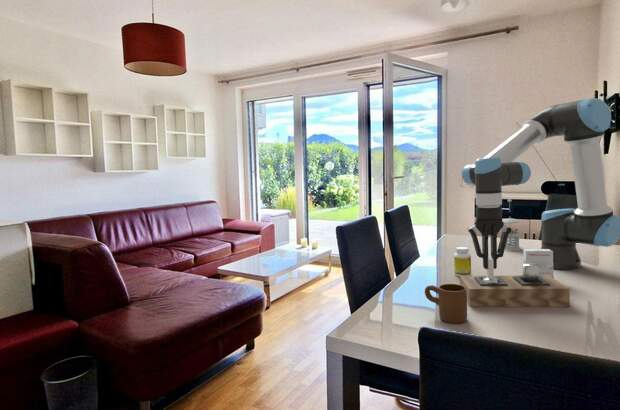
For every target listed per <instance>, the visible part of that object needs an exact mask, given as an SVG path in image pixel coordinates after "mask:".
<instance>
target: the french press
mask: <svg viewBox="0 0 620 410" xmlns="http://www.w3.org/2000/svg"><path fill="white" fill-rule="evenodd" d="M512 201H513V200H512V199H511V198H508V199H507V202H508V204H509V206H508V207H509V211H511V202H512ZM502 221H503V222H504V224H509V225H511V224H518V223H520V221H519V220H518V219H515V218H512V217H509V218H505V219H502ZM511 229H512V230H511V232H510V233H509V235H508V238H507V242H506V246H505V250H504V251H507V252H509V251H511V252H512V251H513V252H515V251H521V250H522V247H520V232H519V229H518V228H512V227H511ZM502 232H503V231H501V233H500V234H502ZM500 238H501V236H499V234H497V239H500Z"/></svg>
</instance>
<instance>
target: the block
mask: <svg viewBox="0 0 620 410" xmlns="http://www.w3.org/2000/svg"><path fill="white" fill-rule="evenodd" d="M484 277H486V275H471V276H460V277H459V285H462V286H464V287H465V288H466V294H467V302H468V303H467V305H468V304H469V305H470V306H496V307H497V306H498V307H499V306H500V307H501V308H502V307H503V308H506V307H507V308H509V307H513V308H517V307H518V308H520V307H521V308H530V307H531V308H536V307H537V308H570V300H571V299H570V296H571V295H570V288H569V287H567V286H566V285H565V284H563V283H561V282H560V281H559V280H557V279H555V277H554V278H552V277H551V276H549V275H539V282H524V281H523V274H521V275H494V278H497V279H498V283H484V282H483V278H484ZM469 305H468V306H469ZM470 306H469V307H470ZM498 307H497V308H498ZM500 307H499V308H500Z"/></svg>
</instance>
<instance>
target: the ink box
mask: <svg viewBox="0 0 620 410" xmlns="http://www.w3.org/2000/svg"><path fill="white" fill-rule="evenodd" d="M522 251H523V253H522V254H523V255H522V256H523V263H535V264H538V265H539V275H549V276H551V277H552V278H554V279H555V277H554V269H553V251H551V250H550V249H541V248H523V250H522Z"/></svg>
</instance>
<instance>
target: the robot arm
mask: <svg viewBox="0 0 620 410" xmlns="http://www.w3.org/2000/svg"><path fill="white" fill-rule="evenodd" d="M611 123H612V114H611V109H610V107H609V106H608V104H607V103H606V102H605V101H604V100H603V99H600V98H597V97H595V98H594V97H593V98H583V99H580V100H574V101H570V102H565V103H561V104H554V105H551V106H549V107H547V108H544V109H542V110H541V111H540V112H538V113H536V114H535V115H533V116H532V117H529V119H528V120H526V121H525V122H523V124H522V125H521V126H520V127H521V128H520V129H519V130H518V131H516V132H515V133H514V134H512V135H511V136H510V137H509V138H507V139H506V140H505V141H503V142H502V143H501V144H500V145H499V146H497V147H496V148H495V149H494V150H492V151H491V152H489V153H488V154H487V155H486V156H484V157H480V158H477V159H475V163H471V164H467V165H465V166H464V168H462V171H461V178H462V181H463V183H465V184H466V185H472V186H475V205H476V208H475V222H474V225H472V226H471V227H467V229H466V230H467V232H468V233H469V234H470V236H471V240H472V243H473V247H474V250H475V253H476V256H477V257H479V258H482V267H483V268H484V270H486V271H485V272H486V274H485V276H486V277H487V278H488V279H489V280H494V276H495V272H494V271H495V270H496V269H497V268H498V265H497V264H498V263H497V262H498V261H497V260H498V259H500V258H502V257H503V256H504V254H505V251H506V250H505V246H506V242H507V238H509V237H508V235H509V233H510V232H511V230H512V227H511V226H507V225H505V223H504V222H503V221H502V220H503V207H502V204H503V195H502V194H503V193H502V190H503V189H502V188H503V187H505V186H507V187H508V186H509V187H510V186H519V185H523V184H526V183H527V182H528V181H529V180H530V178H531V175H532V174H531V173H532V172H531V171H532V170H531V167H530V165H528V164H527V163H526V162H523V161H515V160H517V159H518V158H520V157H521V156H522V155H523V154H524V153H525V152H527V151H528V150H529V149H530V148H531V147H533V146H534V145H535V144H538V143H542V142H544V140H546V139H548V138H554V137H561V136H562V137H563V141H564V142H565V143H566V144H567V145H569V147H570V156H571V163H572V169H573V178H574V186H575V193H576V194H575V195H576V201H577V202H576V203H577V208H561V209H560V208H558V209H551V210H545V211H542V212H541V213H542V214H541V220H540V223H541V247H540V249H550V250H551V251H553V270H554V269H555V270H577V269H580V268H581V267H582V260H581V258H580V255H579V252H578V249H577V245H576V244H582V245H588V246H595V247H605V248H608V247H613V245H615V244H617V242H618V241H619V239H620V216H618V215H614V209H613V207H611V206H610V205H608V203H607V195H606V194H607V193H606V186H605V184H606V183H605V177H604V170H603V169H604V166H603V159H602V151H601V143H600V142H601V141H600V140H601V139H603V137H604V136H605V131H607V130H608V129H609V128H610V126H611ZM477 230H478V232H479V233H480V234H481V245H480V243H479V238H478V236H477ZM500 231H501V232H502V234H501V233H500ZM499 233H500V234H501V236H500V238H499V242H498V240H497V239H498V237H497V236H498V235H499ZM489 237H490V257H489ZM507 243H508V242H507ZM481 247H482V248H481ZM494 269H495V270H494Z"/></svg>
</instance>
